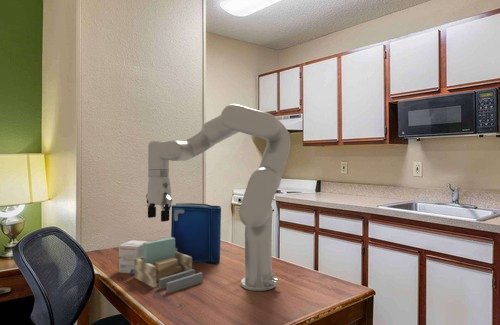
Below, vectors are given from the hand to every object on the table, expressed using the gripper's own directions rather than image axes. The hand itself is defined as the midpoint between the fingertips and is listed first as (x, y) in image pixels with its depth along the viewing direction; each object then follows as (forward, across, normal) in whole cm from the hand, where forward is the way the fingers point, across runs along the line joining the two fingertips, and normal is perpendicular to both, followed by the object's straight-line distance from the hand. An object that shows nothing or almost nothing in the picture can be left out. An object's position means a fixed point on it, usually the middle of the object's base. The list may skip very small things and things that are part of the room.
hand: (158, 219), depth 127 cm
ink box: (+23, +12, +4) cm, 26 cm away
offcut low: (+21, -6, 0) cm, 22 cm away
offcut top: (+18, -6, 0) cm, 18 cm away
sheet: (+21, -1, 0) cm, 21 cm away
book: (+22, +5, -22) cm, 31 cm away
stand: (+22, -15, 0) cm, 27 cm away
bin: (+22, -3, 0) cm, 22 cm away
